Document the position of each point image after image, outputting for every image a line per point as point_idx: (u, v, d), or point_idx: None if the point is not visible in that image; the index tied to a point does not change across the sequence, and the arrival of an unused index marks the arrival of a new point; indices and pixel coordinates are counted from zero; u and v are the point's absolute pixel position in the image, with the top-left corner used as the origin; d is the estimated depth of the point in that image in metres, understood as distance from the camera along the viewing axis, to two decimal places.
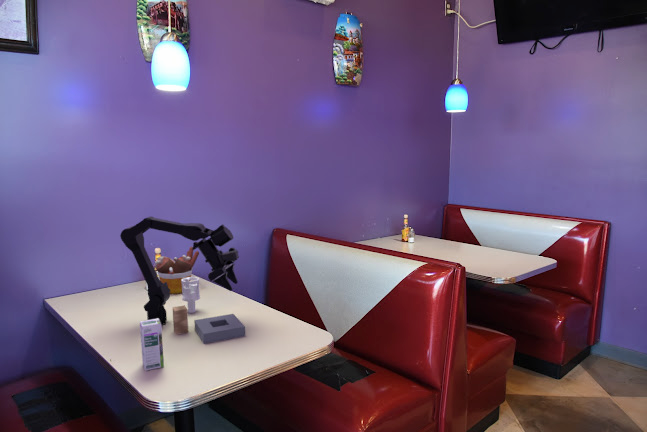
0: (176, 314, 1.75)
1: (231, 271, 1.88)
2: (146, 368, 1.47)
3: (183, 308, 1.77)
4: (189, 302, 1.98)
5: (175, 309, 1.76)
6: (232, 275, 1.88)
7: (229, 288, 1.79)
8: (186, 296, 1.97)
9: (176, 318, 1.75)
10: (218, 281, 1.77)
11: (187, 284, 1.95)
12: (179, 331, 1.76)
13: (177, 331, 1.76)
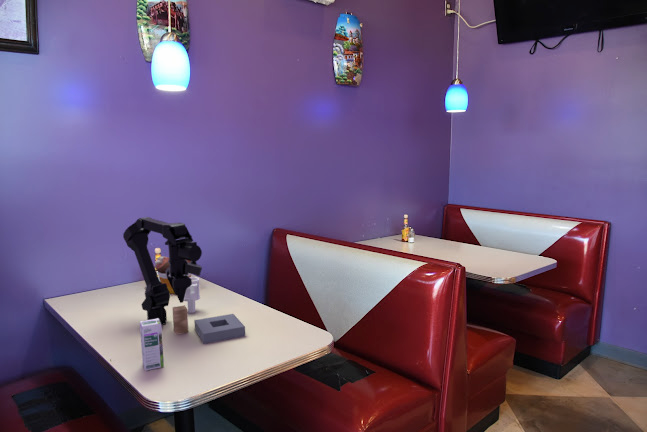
0: (176, 314, 1.75)
1: None
2: (146, 368, 1.47)
3: (183, 308, 1.77)
4: (189, 302, 1.98)
5: (175, 309, 1.76)
6: None
7: (182, 299, 1.73)
8: (186, 296, 1.97)
9: (176, 318, 1.75)
10: (177, 289, 1.70)
11: None
12: (179, 331, 1.76)
13: (177, 331, 1.76)
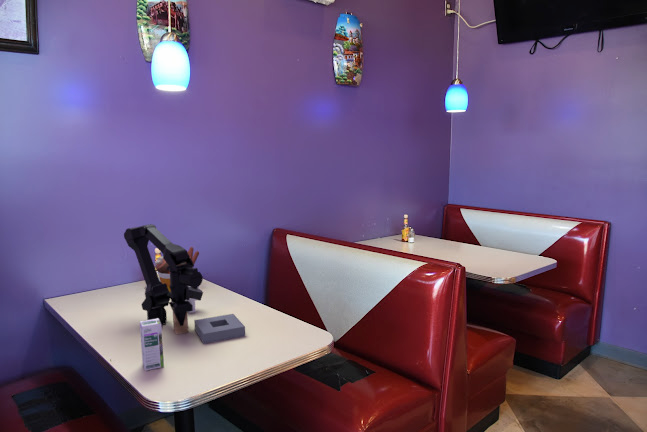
0: None
1: None
2: (146, 368, 1.47)
3: None
4: None
5: None
6: None
7: (182, 323, 1.76)
8: None
9: (176, 318, 1.75)
10: (177, 313, 1.73)
11: None
12: (179, 331, 1.76)
13: (177, 331, 1.76)
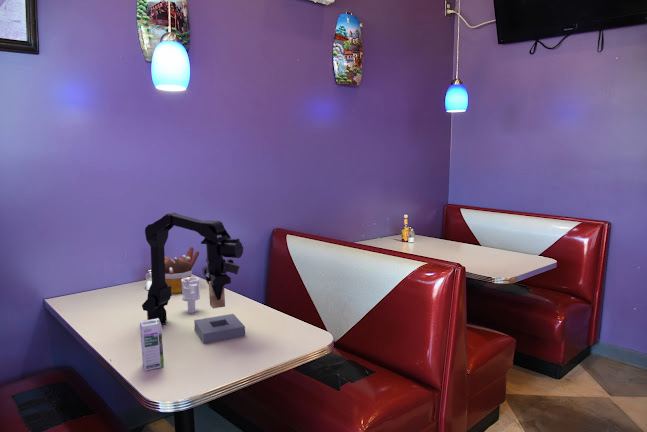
0: None
1: None
2: (146, 368, 1.47)
3: None
4: (189, 302, 1.98)
5: None
6: None
7: (219, 297, 1.73)
8: (186, 296, 1.97)
9: (213, 292, 1.72)
10: (214, 286, 1.70)
11: (187, 284, 1.95)
12: (216, 305, 1.73)
13: (214, 305, 1.73)
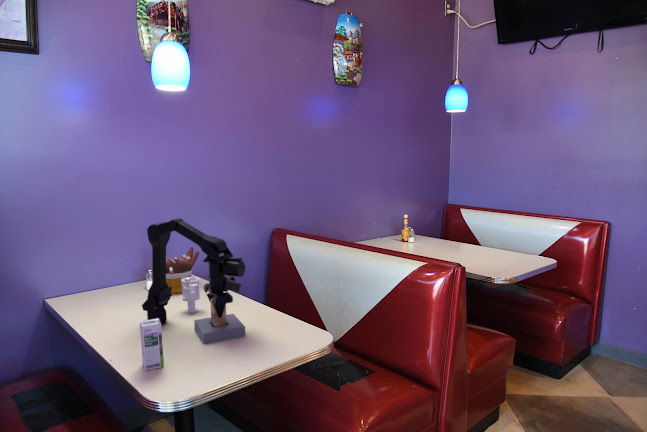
0: None
1: None
2: (146, 368, 1.47)
3: None
4: (189, 302, 1.98)
5: None
6: None
7: (220, 315, 1.74)
8: (186, 296, 1.97)
9: (215, 310, 1.73)
10: (216, 304, 1.71)
11: (187, 284, 1.95)
12: (218, 323, 1.74)
13: (216, 323, 1.74)
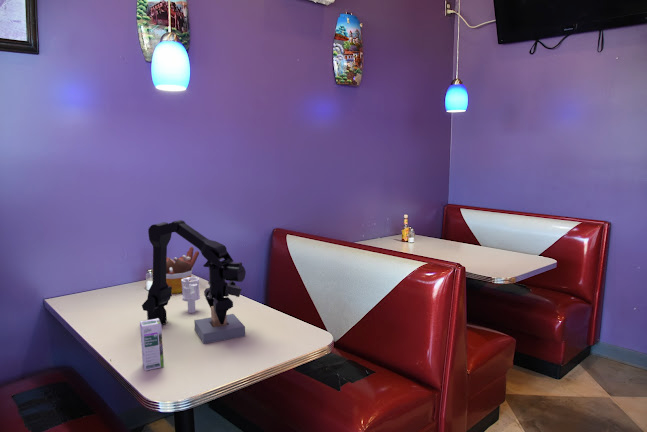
0: (215, 313, 1.73)
1: None
2: (146, 368, 1.47)
3: None
4: (189, 302, 1.98)
5: None
6: None
7: (222, 321, 1.72)
8: (186, 296, 1.97)
9: (215, 317, 1.74)
10: (218, 311, 1.70)
11: (187, 284, 1.95)
12: None
13: None
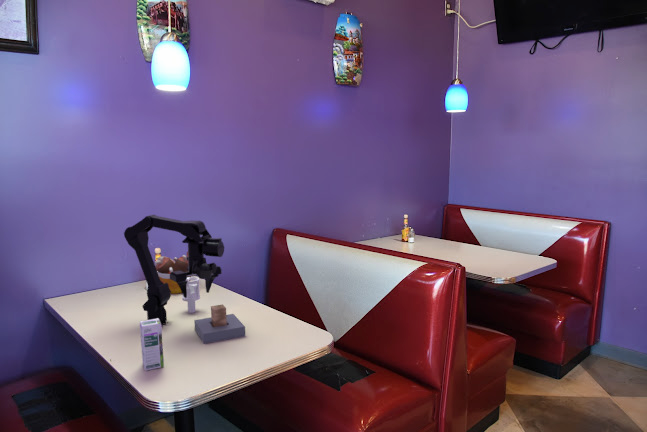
0: (215, 313, 1.73)
1: (209, 280, 1.83)
2: (146, 368, 1.47)
3: (222, 307, 1.75)
4: (189, 302, 1.98)
5: (214, 308, 1.74)
6: (208, 283, 1.84)
7: (184, 295, 1.78)
8: None
9: (215, 317, 1.74)
10: (178, 282, 1.78)
11: (187, 284, 1.95)
12: None
13: None
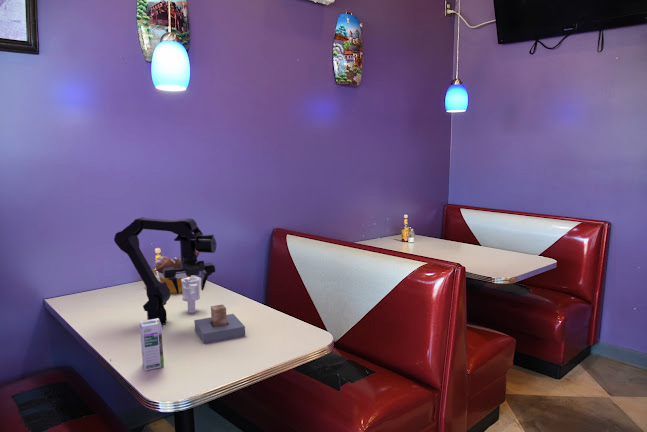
0: (215, 313, 1.73)
1: (203, 278, 1.84)
2: (146, 368, 1.47)
3: (222, 307, 1.75)
4: (189, 302, 1.98)
5: (214, 308, 1.74)
6: (202, 281, 1.85)
7: (176, 291, 1.81)
8: (186, 296, 1.97)
9: (215, 317, 1.74)
10: None
11: (187, 284, 1.95)
12: None
13: None
